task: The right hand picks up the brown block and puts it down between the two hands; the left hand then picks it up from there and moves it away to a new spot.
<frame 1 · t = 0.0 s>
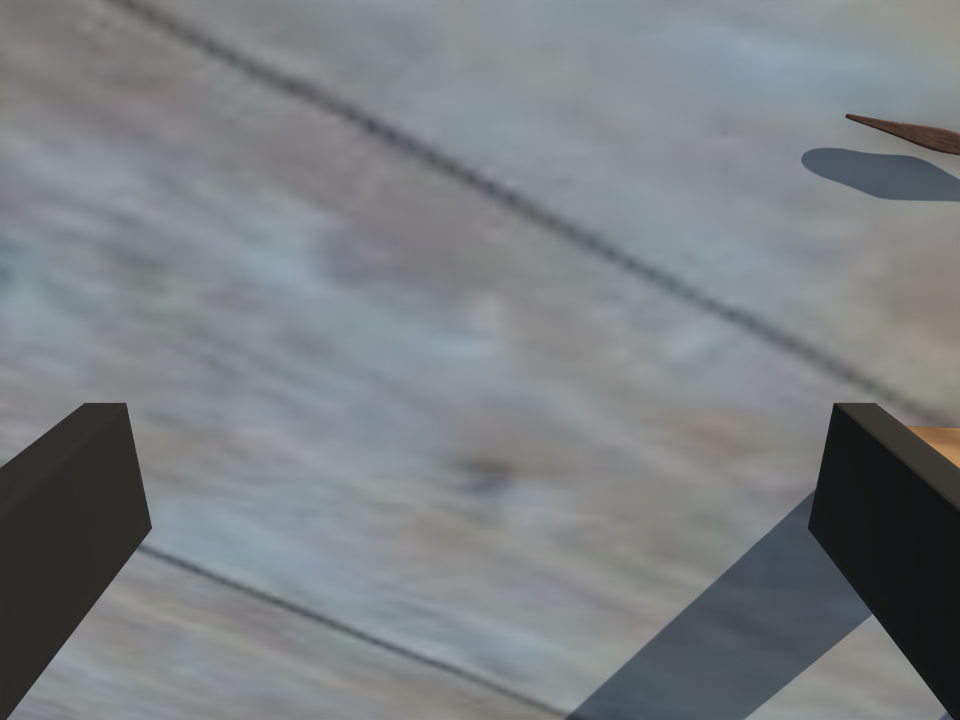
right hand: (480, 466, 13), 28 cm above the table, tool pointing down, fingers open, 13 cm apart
brown block: (932, 479, 45), on the table
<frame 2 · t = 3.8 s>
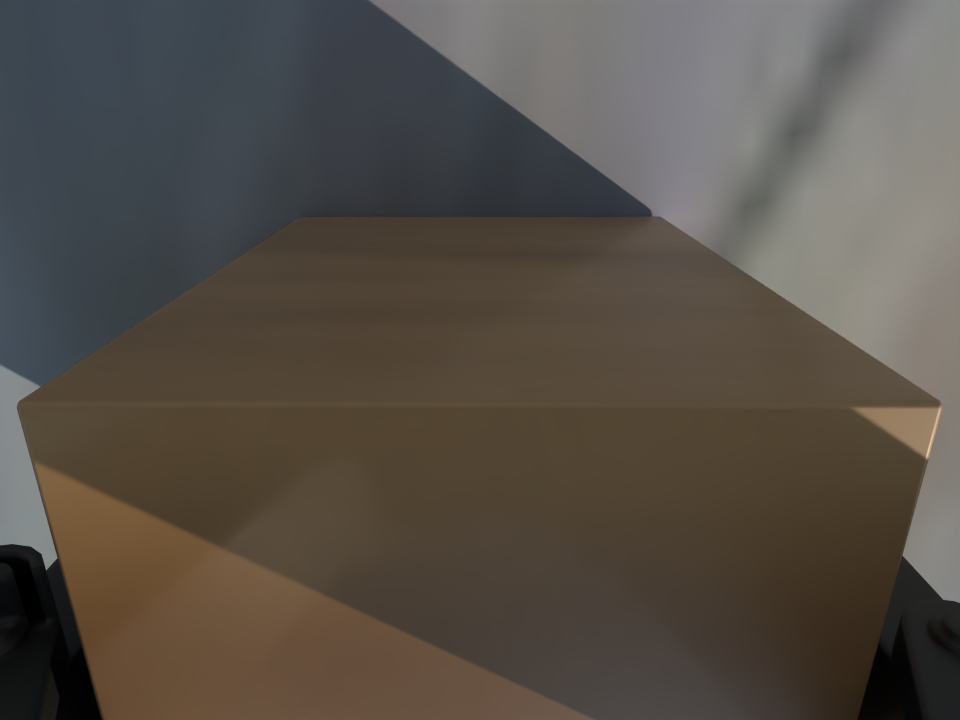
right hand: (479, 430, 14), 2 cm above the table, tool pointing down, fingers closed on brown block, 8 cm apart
brown block: (479, 396, 16), on the table, touching right hand
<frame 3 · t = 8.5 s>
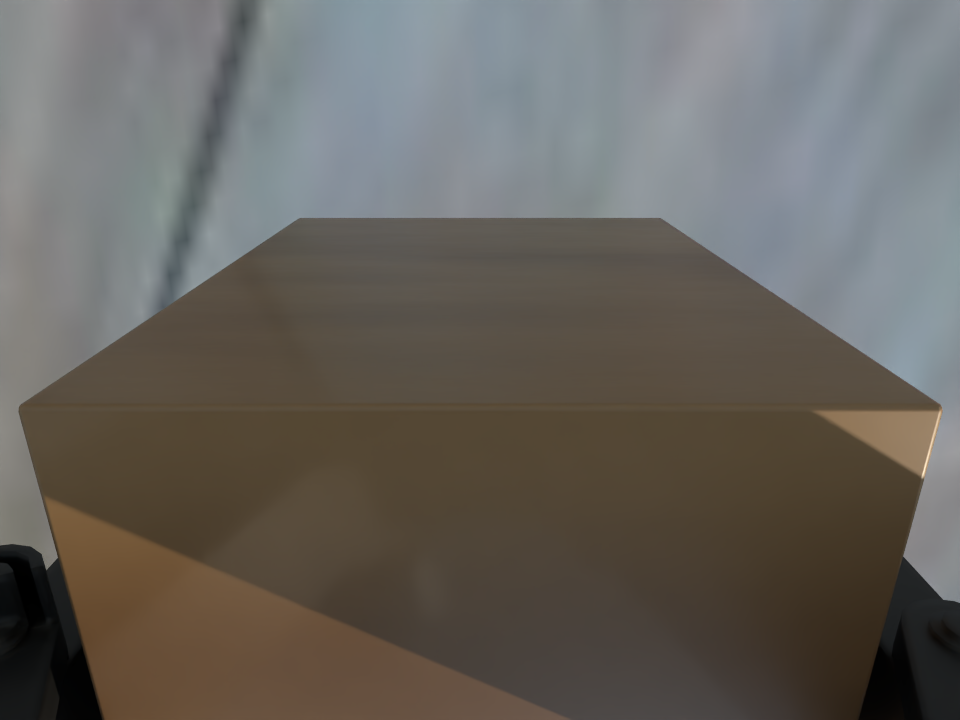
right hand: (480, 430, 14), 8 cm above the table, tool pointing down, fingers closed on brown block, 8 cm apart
brown block: (480, 398, 16), point 6 cm above the table, touching right hand
when the right hand's fingers open (3 cm above the table, at t = 13.1 s): brown block drops 1 cm, on the table.
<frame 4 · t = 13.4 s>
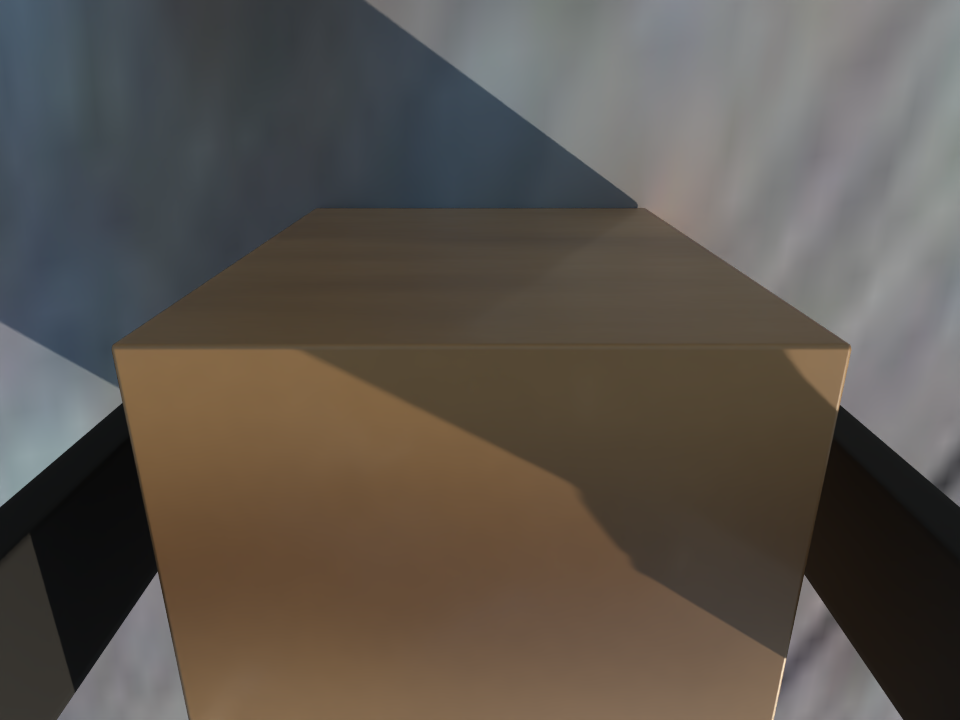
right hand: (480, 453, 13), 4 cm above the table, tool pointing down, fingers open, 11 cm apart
brown block: (480, 374, 17), on the table
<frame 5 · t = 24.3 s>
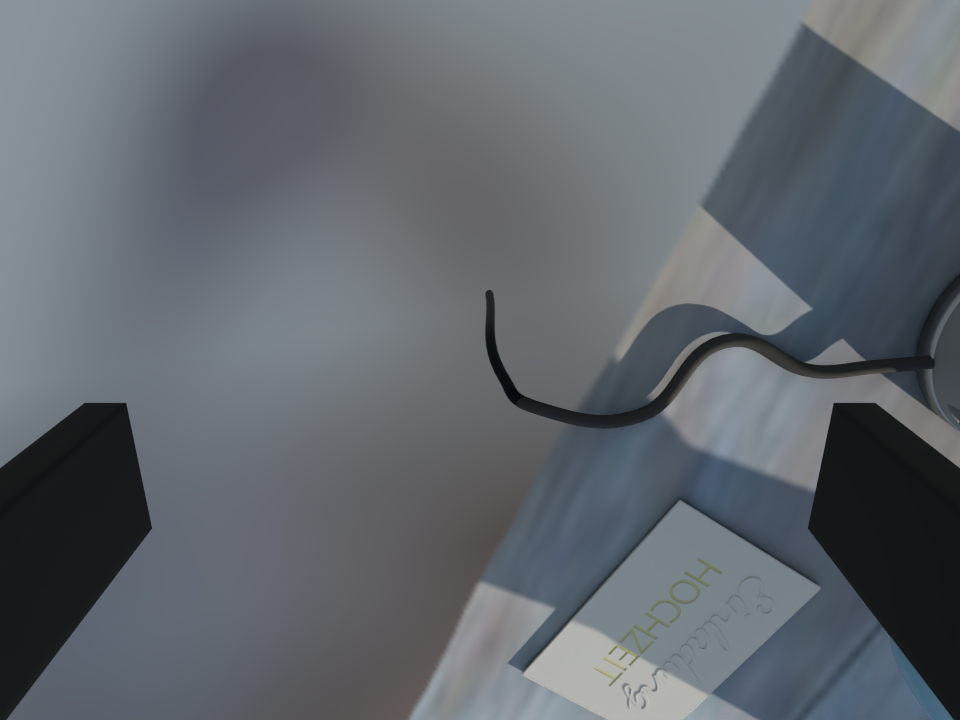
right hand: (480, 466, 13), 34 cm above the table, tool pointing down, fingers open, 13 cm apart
invitation card: (666, 629, 58), on the table
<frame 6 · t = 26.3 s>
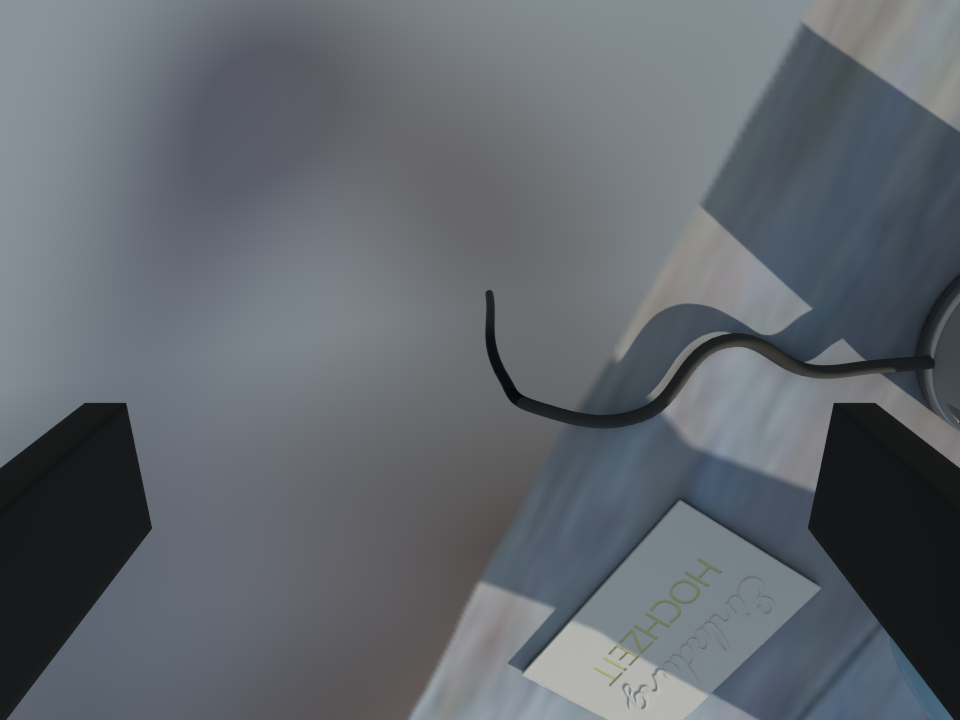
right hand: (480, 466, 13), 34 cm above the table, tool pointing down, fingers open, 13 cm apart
invitation card: (666, 629, 58), on the table
when the left hand's fingers open (3 cm above the table, at t = 28.2 s): brown block drops 1 cm, on the table.
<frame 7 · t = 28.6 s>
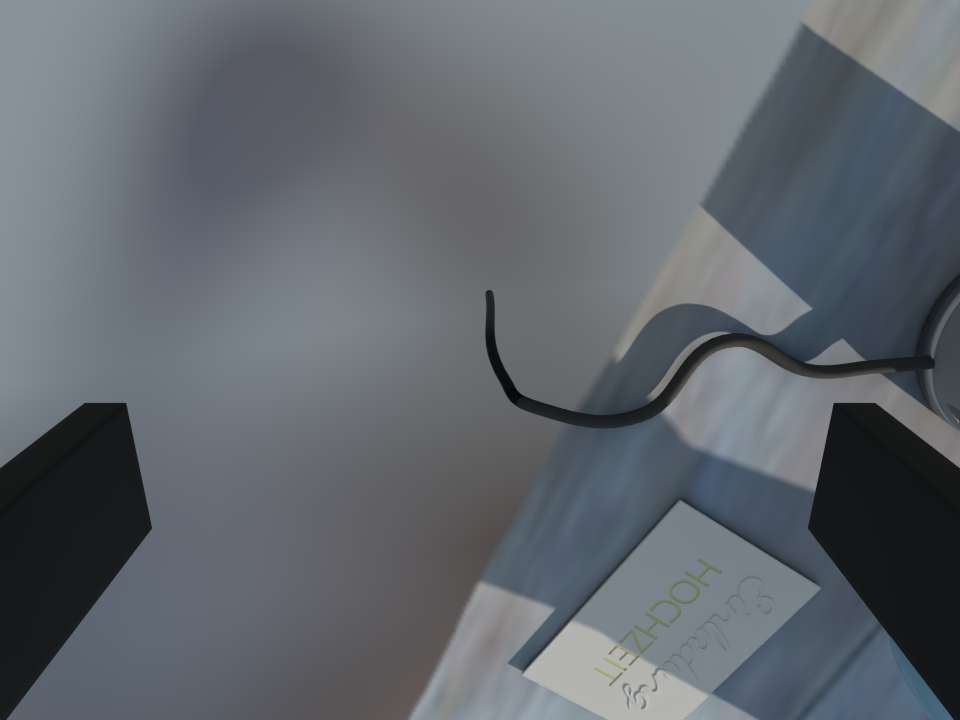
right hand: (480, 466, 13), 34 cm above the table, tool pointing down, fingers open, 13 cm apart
invitation card: (666, 629, 58), on the table
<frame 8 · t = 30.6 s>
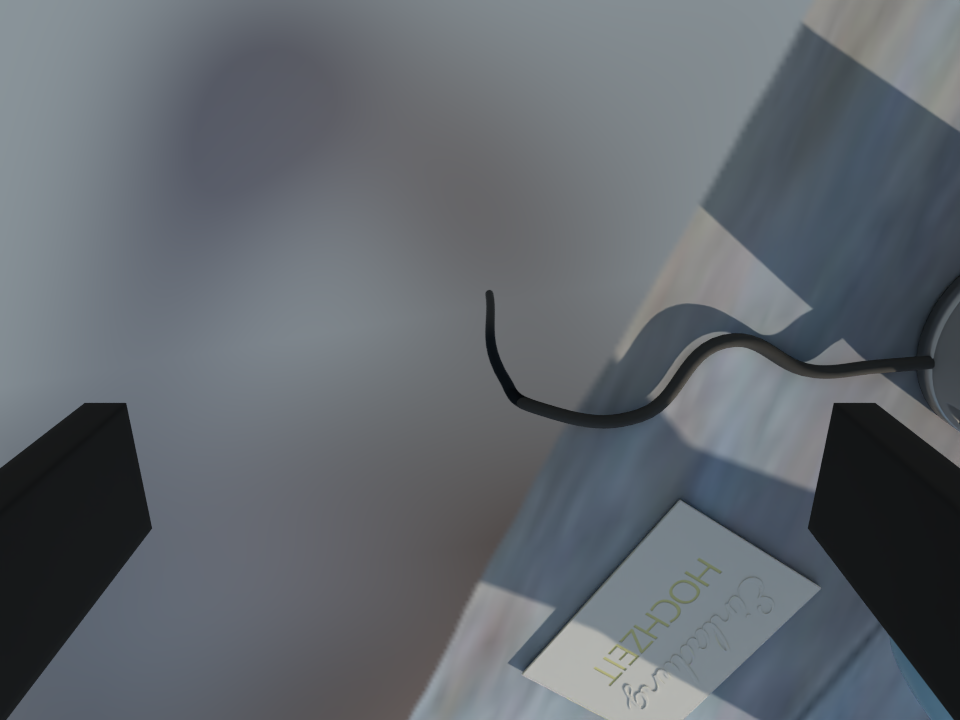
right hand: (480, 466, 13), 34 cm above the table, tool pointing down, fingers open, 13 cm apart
invitation card: (666, 629, 58), on the table
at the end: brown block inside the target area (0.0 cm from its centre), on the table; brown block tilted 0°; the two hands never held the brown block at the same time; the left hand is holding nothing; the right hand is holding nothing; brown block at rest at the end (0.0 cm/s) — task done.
